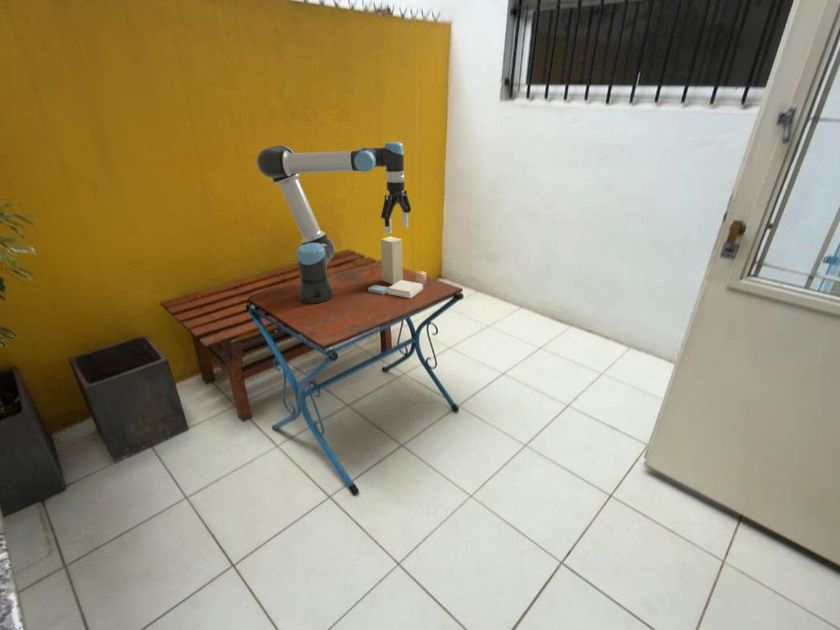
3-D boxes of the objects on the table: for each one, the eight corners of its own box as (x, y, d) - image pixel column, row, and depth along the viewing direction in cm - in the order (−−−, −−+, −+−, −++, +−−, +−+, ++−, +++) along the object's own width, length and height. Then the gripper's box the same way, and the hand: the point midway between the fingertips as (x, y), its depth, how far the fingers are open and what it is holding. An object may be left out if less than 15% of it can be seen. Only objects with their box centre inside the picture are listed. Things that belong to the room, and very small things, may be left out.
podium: (387, 293, 196) (387, 288, 195) (400, 284, 206) (400, 279, 205) (410, 298, 191) (410, 292, 190) (423, 289, 201) (423, 283, 199)
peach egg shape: (413, 285, 205) (413, 273, 202) (419, 282, 209) (418, 270, 206) (423, 287, 203) (423, 275, 200) (428, 283, 207) (428, 271, 204)
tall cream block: (404, 280, 211) (403, 238, 202) (393, 285, 206) (391, 242, 197) (393, 277, 216) (391, 235, 207) (382, 281, 211) (379, 239, 202)
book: (368, 292, 200) (368, 288, 199) (374, 288, 203) (374, 284, 203) (382, 295, 196) (382, 291, 195) (388, 291, 200) (388, 287, 199)
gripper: (386, 186, 173) (388, 237, 182) (418, 177, 192) (418, 225, 201) (370, 184, 176) (374, 235, 186) (403, 176, 196) (405, 223, 205)
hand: (397, 230), depth 193 cm, fingers open, 13 cm apart
